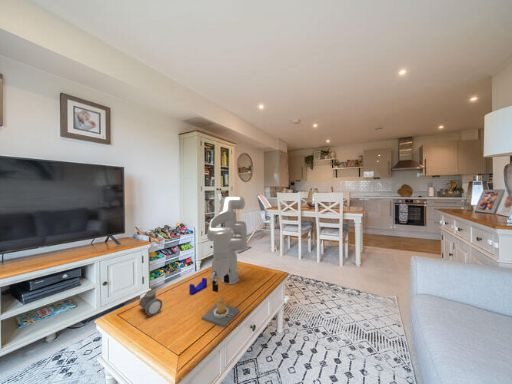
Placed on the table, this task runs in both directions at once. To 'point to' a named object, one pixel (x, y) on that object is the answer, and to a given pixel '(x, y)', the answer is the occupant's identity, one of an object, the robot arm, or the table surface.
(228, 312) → the plate
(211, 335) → the table surface
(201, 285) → the cable clip
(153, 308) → the pipe fitting
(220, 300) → the tan wooden peg
